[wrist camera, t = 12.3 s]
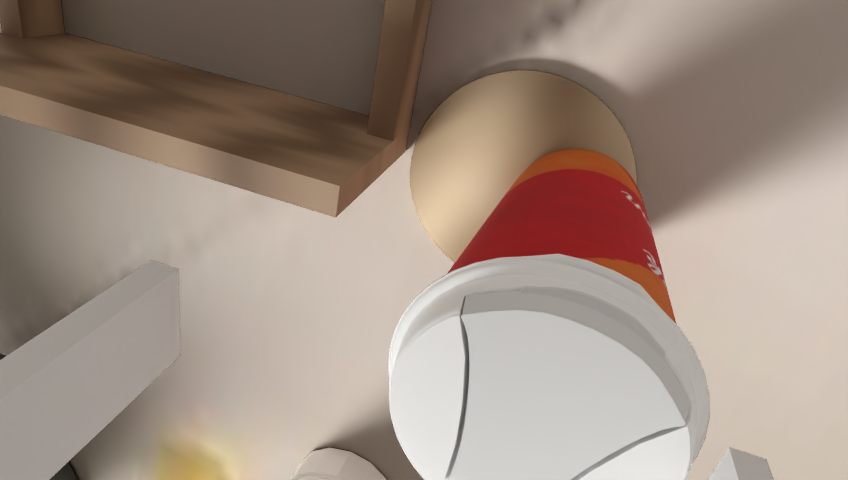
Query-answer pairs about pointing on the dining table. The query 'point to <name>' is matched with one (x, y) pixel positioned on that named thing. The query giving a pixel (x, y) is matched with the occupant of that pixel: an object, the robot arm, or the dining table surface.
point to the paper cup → (551, 342)
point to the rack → (212, 108)
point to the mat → (501, 146)
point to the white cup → (335, 466)
